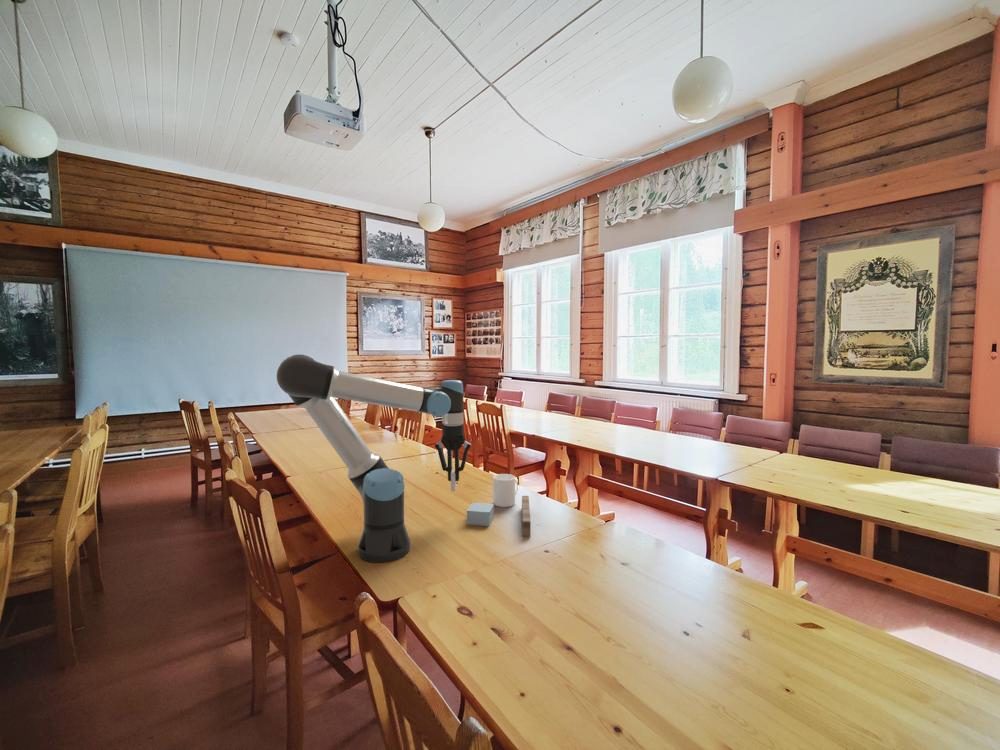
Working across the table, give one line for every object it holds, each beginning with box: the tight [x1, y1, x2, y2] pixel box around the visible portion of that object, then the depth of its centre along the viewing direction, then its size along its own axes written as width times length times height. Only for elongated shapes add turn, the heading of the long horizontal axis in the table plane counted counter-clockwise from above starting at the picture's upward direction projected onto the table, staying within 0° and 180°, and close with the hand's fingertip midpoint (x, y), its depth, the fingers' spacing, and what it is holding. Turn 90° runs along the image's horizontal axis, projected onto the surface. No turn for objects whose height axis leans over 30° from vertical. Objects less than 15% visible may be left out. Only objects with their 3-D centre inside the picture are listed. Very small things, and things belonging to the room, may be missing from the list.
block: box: [466, 501, 495, 527], centre depth 151 cm, size 8×8×5 cm
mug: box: [492, 473, 519, 508], centre depth 168 cm, size 9×12×11 cm
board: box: [521, 495, 531, 537], centre depth 150 cm, size 24×2×5 cm, turn 178°
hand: (453, 489), depth 151 cm, fingers closed
